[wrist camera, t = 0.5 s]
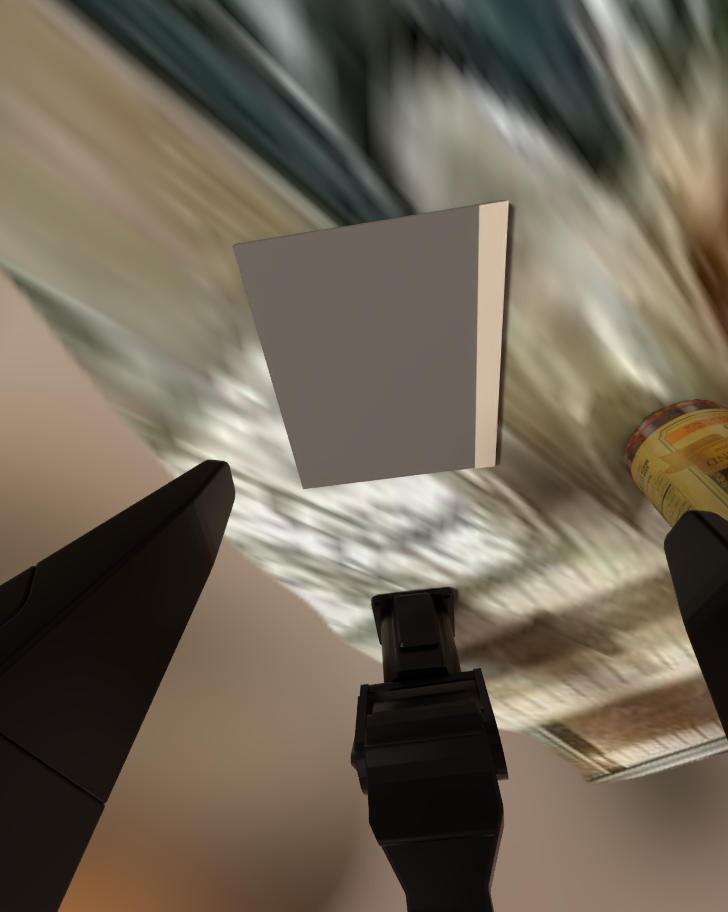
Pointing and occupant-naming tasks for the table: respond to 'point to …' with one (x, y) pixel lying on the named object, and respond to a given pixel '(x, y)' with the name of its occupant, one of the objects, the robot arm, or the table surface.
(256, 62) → the table surface
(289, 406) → the mat
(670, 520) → the sauce bottle
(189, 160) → the table surface
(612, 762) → the table surface
